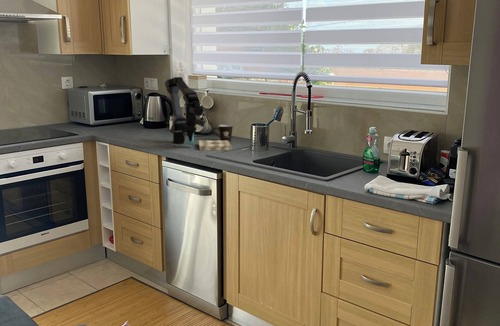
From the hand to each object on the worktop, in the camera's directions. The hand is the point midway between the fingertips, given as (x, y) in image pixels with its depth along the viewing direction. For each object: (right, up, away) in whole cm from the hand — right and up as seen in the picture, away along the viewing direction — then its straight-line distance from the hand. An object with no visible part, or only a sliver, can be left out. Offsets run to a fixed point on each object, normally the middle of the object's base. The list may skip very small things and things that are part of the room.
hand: (190, 140), depth 291 cm
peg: (0, -2, 0) cm, 2 cm away
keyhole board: (+14, -4, +3) cm, 15 cm away
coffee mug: (+18, 0, +23) cm, 29 cm away
